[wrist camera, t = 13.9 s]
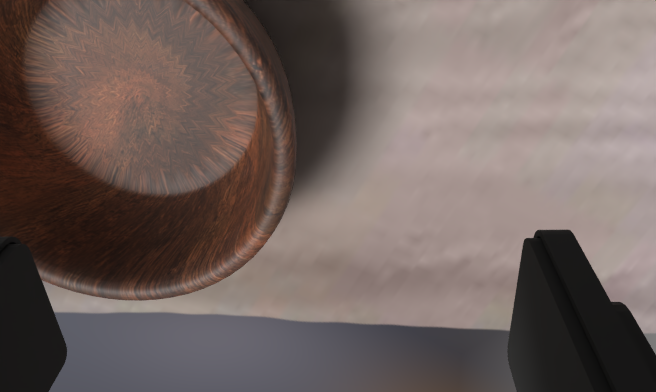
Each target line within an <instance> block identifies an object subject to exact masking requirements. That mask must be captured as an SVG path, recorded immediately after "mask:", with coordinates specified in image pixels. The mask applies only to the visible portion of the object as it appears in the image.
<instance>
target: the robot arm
mask: <svg viewBox="0 0 656 392" xmlns="http://www.w3.org/2000/svg"><path fill="white" fill-rule="evenodd" d="M66 356H67V347H66V343H65V341H64V338H63V335H62V333H61V330H60V328H59V325H58V322H57V320H56V317H55V314H54V312H53V309H52V306H51V304H50V301H49V298H48V296H47V293H46V291H45V288H44V285H43V283H42V280H41V277H40V275H39V272H38V269H37V267H36V264H35V262H34V259H33V256H32V254H31V251H30V249H29V247H28V246H27V245H25V244H22V243H21V241H20V240H19V239H18V238H16V237H13V236H11V237H0V392H48V391H49V390H50V388H51V386H52V384H53V383H54V381H55V379H56V377H57V376H58V374H59V372H60V370H61V369H62V367H63V365H64V363H65V360H66ZM508 361H509V366H510V369H511V373H512V376H513V380H514V383H515V387H516V390H517V392H656V355H655V353H654V351H653V349H652V348H651V346H650V344H649V343H648V341H647V339H646V337H645V336H644V334H643V332H642V331H641V329H640V327H639V325H638V324H637V322H636V320H635V319H634V317H633V315H632V313H631V312H630V310H629V309H628V308H627V307H626V305H624V304H623V303H621V302H611V301H610V299H609V298H608V296H607V294H606V292H605V290H604V289H603V287H602V285H601V283H600V281H599V279H598V278H597V276H596V274H595V272H594V270H593V269H592V267H591V265H590V263H589V261H588V260H587V258H586V256H585V254H584V252H583V251H582V249H581V247H580V245H579V243H578V242H577V240H576V238H575V236H574V234H573V233H572V232H571V231H570V230H537V231H536V232H535V234H534V238H526V239H525V240H524V243H523V249H522V255H521V262H520V268H519V275H518V282H517V288H516V295H515V301H514V308H513V314H512V321H511V328H510V334H509V341H508Z"/></svg>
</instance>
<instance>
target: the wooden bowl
mask: <svg viewBox="0 0 656 392" xmlns="http://www.w3.org/2000/svg"><path fill="white" fill-rule="evenodd" d="M296 153H297V140H296V125H295V115H294V109H293V102H292V97H291V92H290V88H289V84H288V80H287V77H286V74H285V71H284V68H283V66H282V63H281V60H280V58H279V55H278V53H277V51H276V49H275V47H274V45H273V43H272V41H271V39H270V37H269V36H268V34H267V32H266V31H265V29H264V27H263V26H262V24H261V23H260V21H259V20H258V19H257V17H256V16H255V15H254V13H253V12H252V11H251V9H250V8H249V7H248V6H247V5H246V4H245V3H244V1H243V0H0V237H11V236H13V237H16V238H18V239H19V240H20V241H21V243H22V244H25V245H27V246H28V247H29V249H30V251H31V254H32V256H33V259H34V262H35V264H36V267H37V269H38V272H39V275H40V277H41V280H43V281H45V282H48V283H50V284H53V285H56V286H58V287H61V288H64V289H68V290H71V291H74V292H78V293H82V294H86V295H91V296H96V297H102V298H108V299H118V300H156V299H164V298H171V297H176V296H180V295H185V294H189V293H192V292H195V291H198V290H201V289H204V288H206V287H208V286H211V285H213V284H215V283H217V282H219V281H221V280H223V279H224V278H226V277H228V276H230V275H231V274H233V273H234V272H235V271H237V270H238V269H240V268H241V267H242V266H244V265H245V264H246V263H247V262H248V261H249V260H250V259H252V258H253V257H254V256H255V255H256V254H257V252H258V251H259V250H260V249H261V248H262V247H263V246H264V244H265V243H266V242H267V240H268V239H269V238H270V236H271V235H272V233H273V232H274V231H275V229H276V227H277V225H278V224H279V222H280V220H281V218H282V216H283V214H284V212H285V209H286V207H287V204H288V202H289V198H290V195H291V191H292V188H293V183H294V177H295V171H296Z"/></svg>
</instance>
